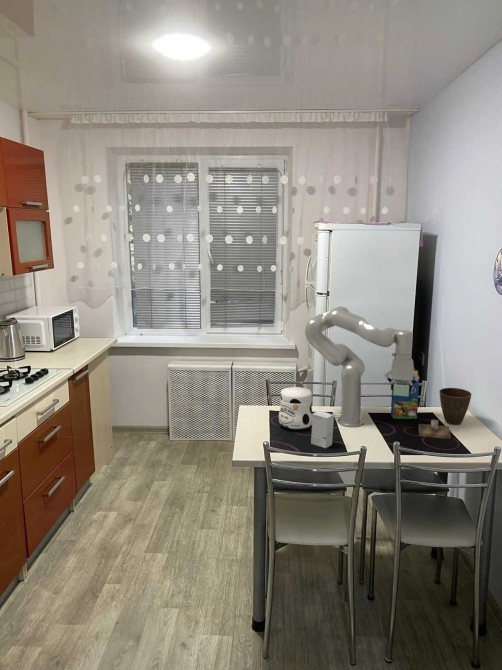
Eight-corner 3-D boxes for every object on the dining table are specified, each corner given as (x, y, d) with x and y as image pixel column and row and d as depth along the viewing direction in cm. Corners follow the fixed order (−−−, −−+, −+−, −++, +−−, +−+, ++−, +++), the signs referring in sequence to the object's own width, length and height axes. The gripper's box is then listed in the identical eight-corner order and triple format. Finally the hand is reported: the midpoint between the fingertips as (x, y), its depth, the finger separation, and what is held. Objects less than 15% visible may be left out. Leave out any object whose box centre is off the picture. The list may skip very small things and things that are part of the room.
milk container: (275, 431, 251) (275, 396, 247) (282, 418, 267) (282, 385, 263) (311, 433, 247) (311, 398, 243) (315, 420, 263) (315, 387, 259)
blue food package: (390, 414, 270) (392, 369, 265) (413, 414, 270) (416, 369, 265) (393, 419, 264) (395, 372, 259) (417, 419, 264) (419, 372, 258)
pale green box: (393, 395, 245) (393, 385, 244) (393, 390, 251) (394, 380, 250) (408, 396, 243) (409, 386, 242) (408, 391, 249) (409, 382, 248)
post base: (419, 436, 242) (419, 424, 241) (418, 426, 254) (419, 415, 253) (450, 439, 239) (451, 426, 237) (448, 429, 250) (449, 417, 249)
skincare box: (310, 444, 235) (311, 413, 232) (318, 439, 240) (318, 409, 236) (326, 448, 230) (327, 417, 227) (333, 444, 234) (334, 413, 231)
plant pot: (470, 429, 249) (472, 398, 246) (437, 426, 254) (439, 395, 251) (468, 418, 263) (470, 389, 260) (437, 415, 268) (439, 386, 264)
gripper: (384, 356, 242) (382, 392, 246) (422, 359, 237) (420, 395, 241) (384, 353, 249) (382, 388, 253) (422, 355, 244) (419, 391, 248)
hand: (401, 391), depth 247 cm, fingers closed on pale green box, 7 cm apart
